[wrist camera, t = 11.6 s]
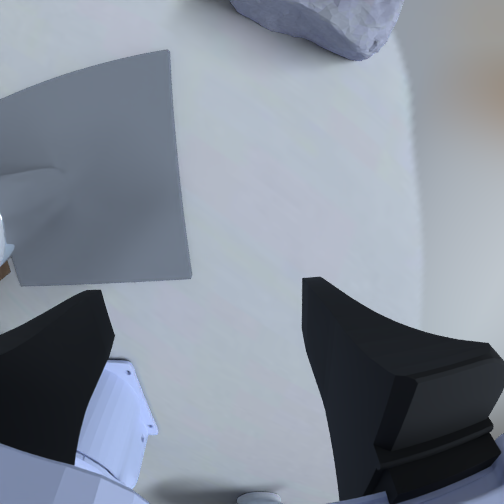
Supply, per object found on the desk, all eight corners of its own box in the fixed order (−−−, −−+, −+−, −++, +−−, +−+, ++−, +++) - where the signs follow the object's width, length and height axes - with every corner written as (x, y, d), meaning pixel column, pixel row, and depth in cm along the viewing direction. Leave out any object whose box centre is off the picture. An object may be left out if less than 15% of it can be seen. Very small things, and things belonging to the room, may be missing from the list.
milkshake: (85, 148, 17) (-29, 178, 8) (77, 230, 19) (-17, 309, 10) (30, 141, 16) (-85, 168, 7) (25, 218, 18) (-74, 281, 9)
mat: (192, 274, 21) (190, 278, 20) (24, 282, 21) (20, 286, 20) (169, 51, 16) (167, 49, 15) (-8, 105, 16) (-13, 105, 15)
